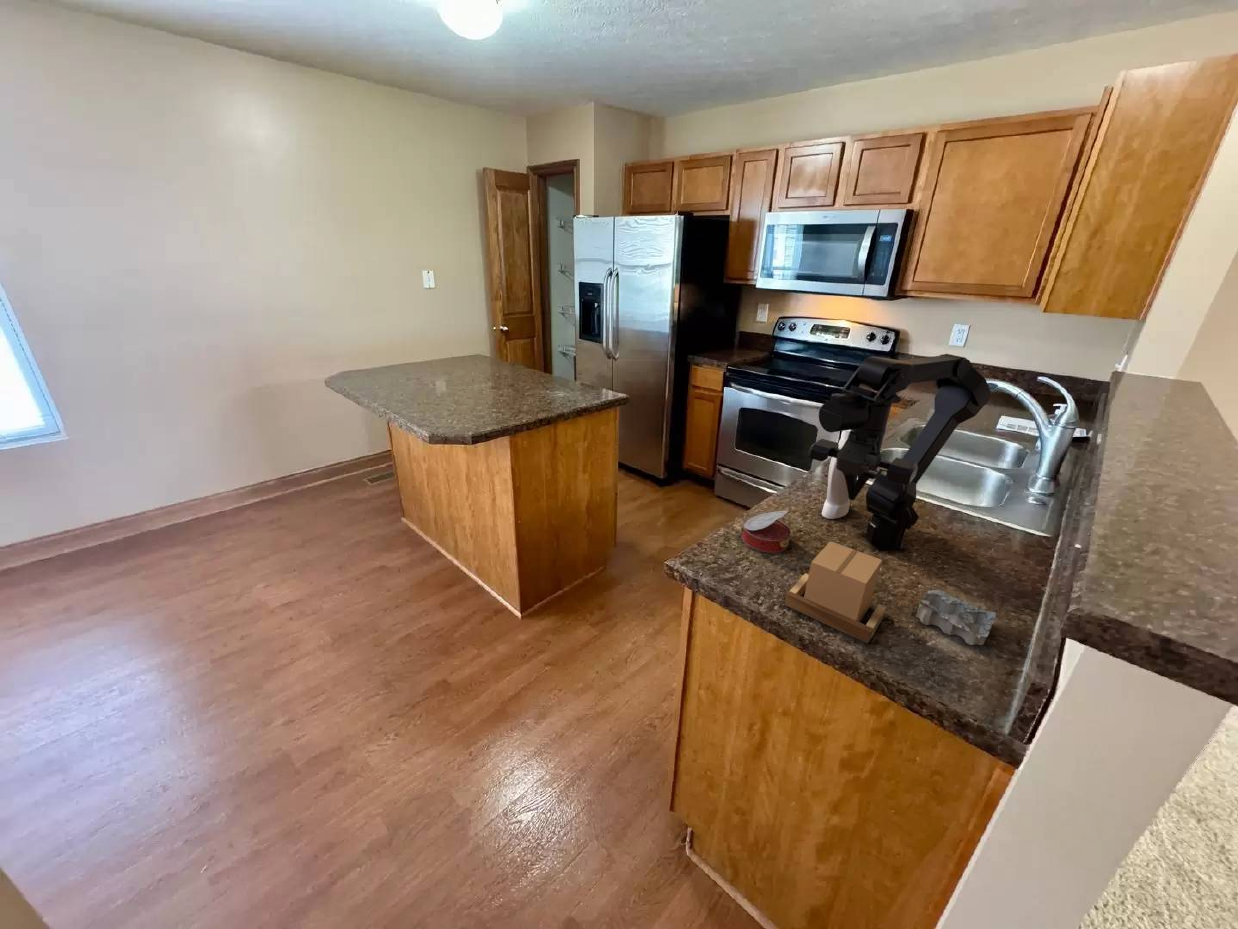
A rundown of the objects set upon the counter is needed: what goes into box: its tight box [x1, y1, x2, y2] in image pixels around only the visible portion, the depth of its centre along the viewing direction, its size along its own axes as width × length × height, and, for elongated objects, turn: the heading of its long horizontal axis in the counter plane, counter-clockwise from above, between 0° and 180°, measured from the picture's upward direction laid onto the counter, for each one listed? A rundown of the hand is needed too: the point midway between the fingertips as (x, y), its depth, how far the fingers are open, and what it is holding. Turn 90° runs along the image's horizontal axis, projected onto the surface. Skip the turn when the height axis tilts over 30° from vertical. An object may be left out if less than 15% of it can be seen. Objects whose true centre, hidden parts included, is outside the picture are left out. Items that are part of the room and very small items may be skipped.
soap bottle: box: [821, 430, 851, 520], centre depth 121 cm, size 13×8×24 cm, turn 133°
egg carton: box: [915, 589, 997, 646], centre depth 88 cm, size 11×8×4 cm
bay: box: [784, 573, 887, 645], centre depth 90 cm, size 8×14×2 cm, turn 49°
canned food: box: [741, 509, 791, 554], centre depth 111 cm, size 11×10×10 cm
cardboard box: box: [803, 541, 883, 623], centre depth 90 cm, size 9×9×10 cm
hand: (851, 499), depth 103 cm, fingers closed
